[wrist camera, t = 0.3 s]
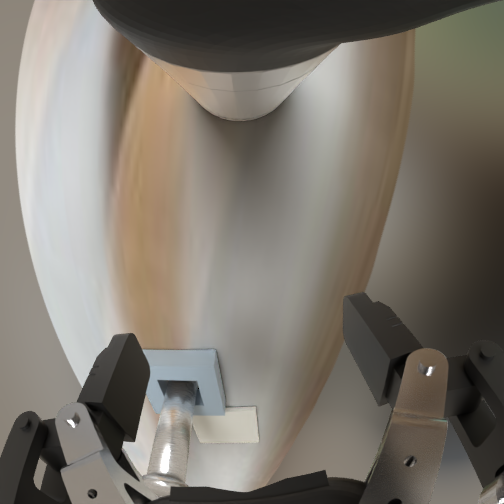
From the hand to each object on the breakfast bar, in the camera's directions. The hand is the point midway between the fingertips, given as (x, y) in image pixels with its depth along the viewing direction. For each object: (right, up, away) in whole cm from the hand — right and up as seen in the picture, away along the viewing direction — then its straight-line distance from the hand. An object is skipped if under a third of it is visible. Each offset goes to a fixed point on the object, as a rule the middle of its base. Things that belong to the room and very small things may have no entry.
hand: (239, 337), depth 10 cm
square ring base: (-12, -14, +24) cm, 30 cm away
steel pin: (-8, -13, +24) cm, 29 cm away
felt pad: (-4, -24, +28) cm, 37 cm away
